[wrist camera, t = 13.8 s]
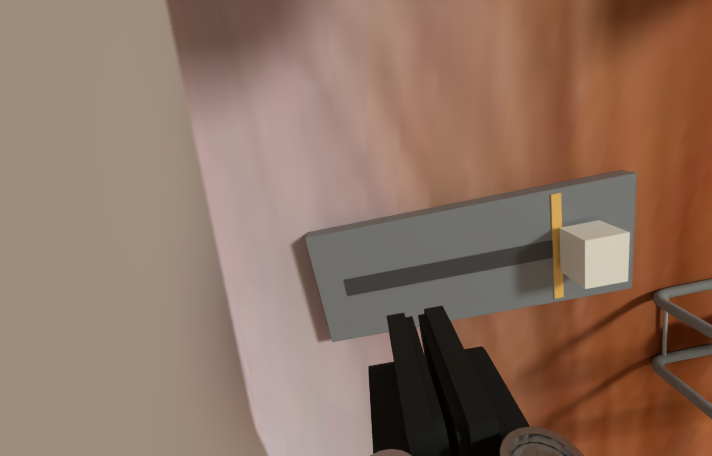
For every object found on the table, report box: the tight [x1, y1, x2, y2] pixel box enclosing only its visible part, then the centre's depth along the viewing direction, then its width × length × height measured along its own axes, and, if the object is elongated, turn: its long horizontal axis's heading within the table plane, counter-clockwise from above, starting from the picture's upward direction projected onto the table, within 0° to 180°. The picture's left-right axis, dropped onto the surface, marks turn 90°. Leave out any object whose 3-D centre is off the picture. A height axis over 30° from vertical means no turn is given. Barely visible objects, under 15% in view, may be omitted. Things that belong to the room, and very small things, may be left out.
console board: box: [305, 170, 637, 342], centre depth 37 cm, size 13×34×2 cm, turn 102°
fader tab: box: [559, 220, 630, 289], centre depth 33 cm, size 5×4×4 cm
